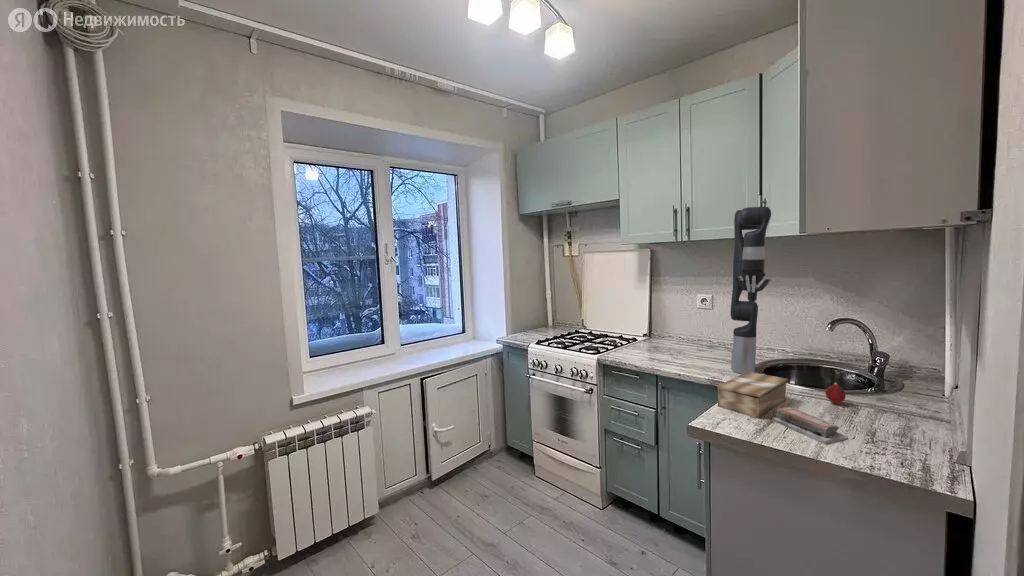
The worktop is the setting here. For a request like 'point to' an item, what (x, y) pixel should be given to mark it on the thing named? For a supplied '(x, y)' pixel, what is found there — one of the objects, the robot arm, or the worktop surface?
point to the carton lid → (753, 384)
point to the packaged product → (808, 425)
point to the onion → (835, 393)
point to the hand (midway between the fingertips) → (751, 301)
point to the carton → (751, 401)
